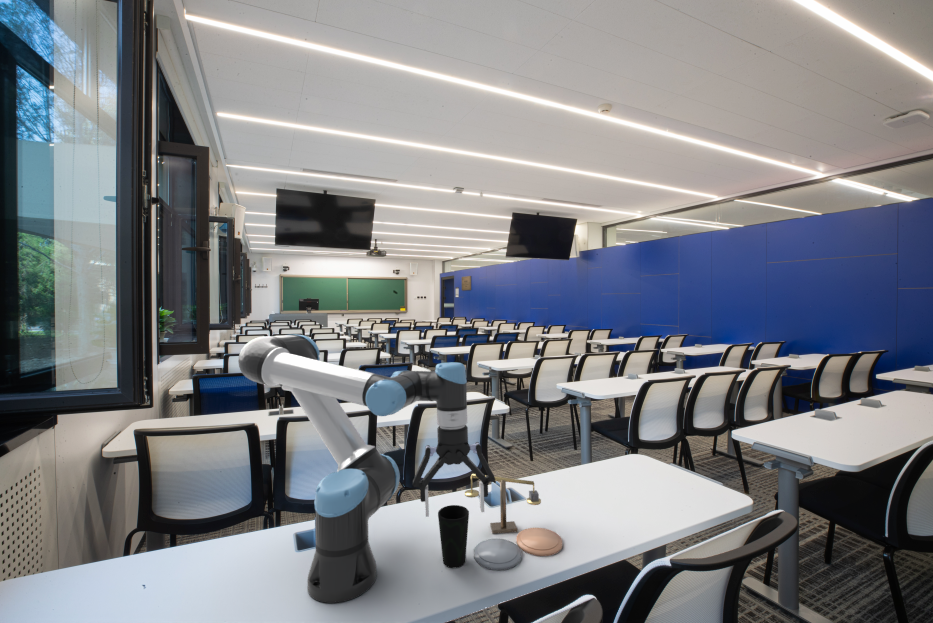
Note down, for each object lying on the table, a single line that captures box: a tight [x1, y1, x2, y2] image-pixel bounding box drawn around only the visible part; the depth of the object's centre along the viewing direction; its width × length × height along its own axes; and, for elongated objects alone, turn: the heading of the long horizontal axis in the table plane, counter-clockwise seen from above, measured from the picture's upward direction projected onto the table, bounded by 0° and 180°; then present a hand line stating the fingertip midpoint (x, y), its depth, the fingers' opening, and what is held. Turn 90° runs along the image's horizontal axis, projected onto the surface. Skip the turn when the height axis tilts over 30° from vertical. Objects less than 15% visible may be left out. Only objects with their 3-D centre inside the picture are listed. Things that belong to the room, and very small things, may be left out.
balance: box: [464, 473, 542, 535], centre depth 114 cm, size 22×4×16 cm, turn 96°
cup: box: [437, 504, 470, 569], centre depth 99 cm, size 8×8×12 cm
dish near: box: [473, 538, 522, 571], centre depth 101 cm, size 12×12×1 cm
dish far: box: [516, 527, 563, 557], centre depth 106 cm, size 12×12×1 cm
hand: (454, 512), depth 99 cm, fingers open, 13 cm apart
